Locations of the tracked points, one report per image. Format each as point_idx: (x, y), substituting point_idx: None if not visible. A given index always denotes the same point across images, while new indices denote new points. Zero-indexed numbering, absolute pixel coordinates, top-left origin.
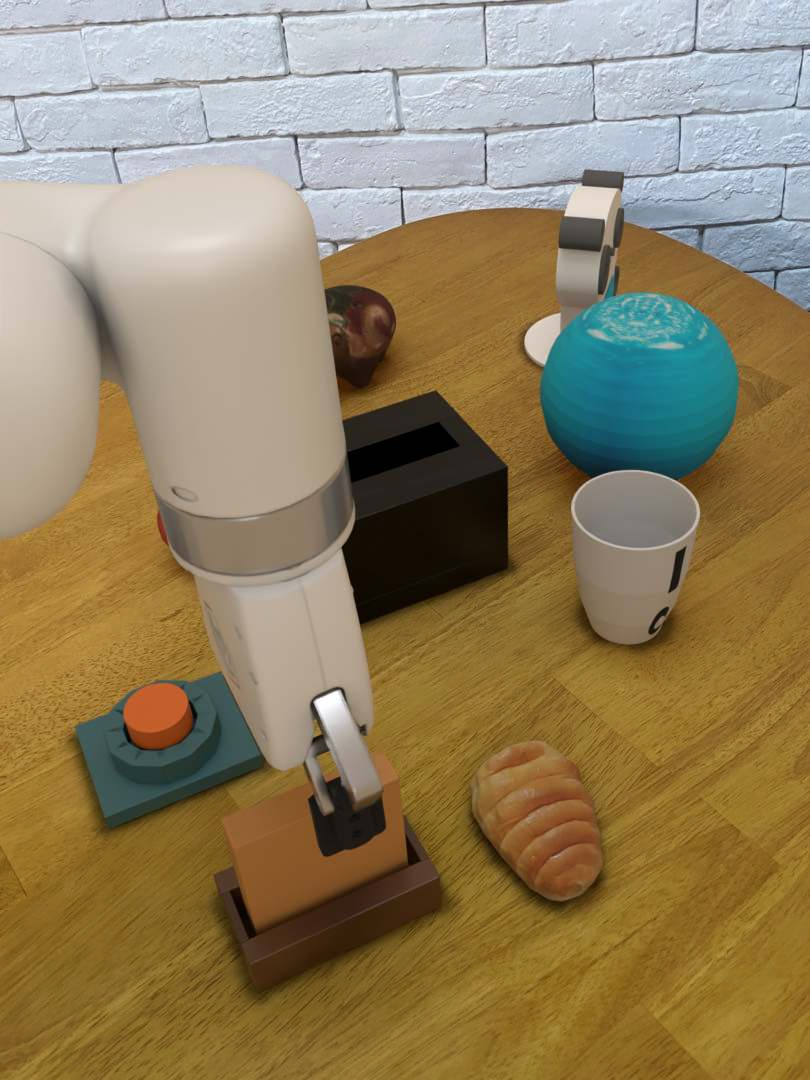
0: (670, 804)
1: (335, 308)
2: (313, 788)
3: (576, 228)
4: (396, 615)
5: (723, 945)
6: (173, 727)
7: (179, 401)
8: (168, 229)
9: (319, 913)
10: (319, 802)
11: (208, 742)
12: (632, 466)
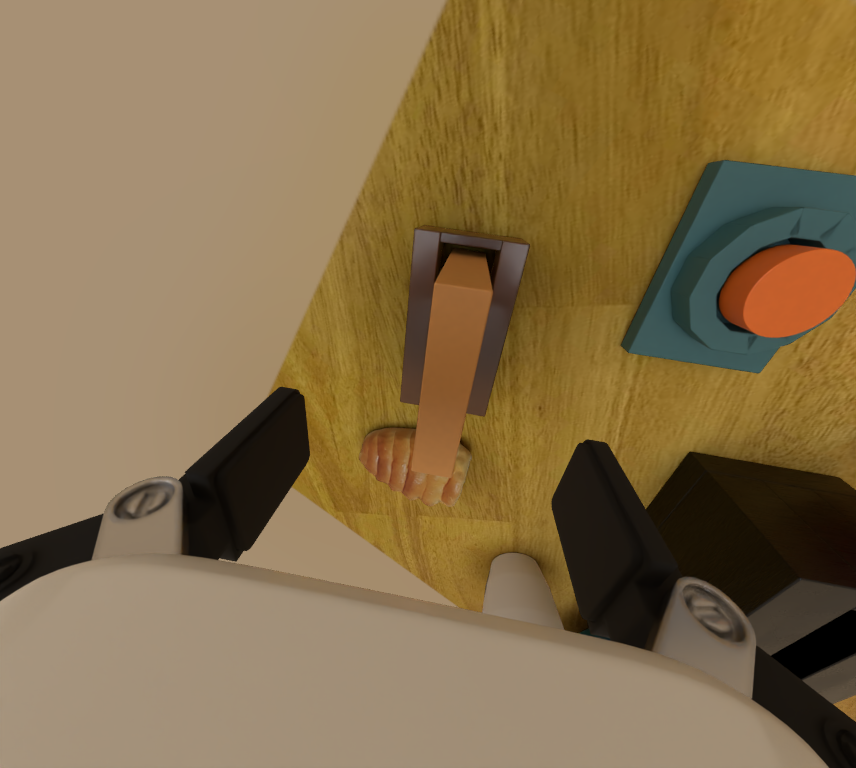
0: (393, 504)
1: None
2: (145, 524)
3: None
4: (649, 497)
5: (310, 470)
6: (742, 300)
7: None
8: None
9: (424, 312)
10: (153, 498)
11: (685, 321)
12: None
